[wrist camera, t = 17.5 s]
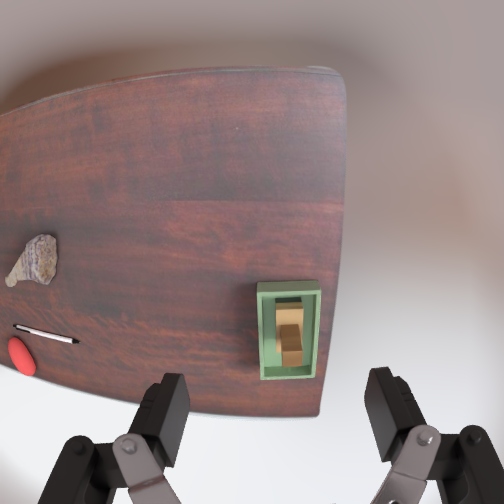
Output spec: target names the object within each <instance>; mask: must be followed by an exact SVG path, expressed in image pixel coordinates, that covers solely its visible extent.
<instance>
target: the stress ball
mask: <svg viewBox="0 0 504 504" xmlns="http://www.w3.org/2000/svg"><path fill="white" fill-rule="evenodd" d="M8 349H9V354H10V357H11V359H12V361H13V363H14V364H15V366H16V367H17V369H18V370H19V371H20V372H21V373H22V374H24V375H27V376H31V375H33V374H34V373H35V370H36V367H35V363H34V360H33V358H32V357H31V355H30V353H29V351H28V350H27V348H26V346H25V345H24V344H23V342H22V341H21V340H20V339H18V338H15V337H13V338H11V339H10V340H9V343H8Z"/></svg>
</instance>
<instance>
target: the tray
mask: <svg viewBox="0 0 504 504" xmlns="http://www.w3.org/2000/svg"><path fill="white" fill-rule="evenodd" d="M287 297H301V300H302V305H303V335H302V349H303V358H302V366H295V367H282V356H281V353H276V326H275V298H287ZM320 303H321V288H320V286H319V283H318V281H317V280H310V281H280V282H257V311H258V334H259V357H260V379H261V380H269V379H298V378H314V377H315V370H316V359H317V347H318V334H319V320H320Z"/></svg>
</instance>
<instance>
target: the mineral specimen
mask: <svg viewBox="0 0 504 504" xmlns="http://www.w3.org/2000/svg"><path fill="white" fill-rule="evenodd" d="M56 248H57V247H56V239H55V238H54V237H52V236H50V235H49V234H48V235H42V234H40V235H38V236H36V237H34V239H32V240H31V241H29V242H28V243H27V244H26V248H25V250H24V251H23V253H22V255H21V256H20V258H19V259H18V261H17V263H16V264H15V266H14V268H13V270H12V271H11V273H10V274H9V275H8V276H6V277H5V281H6V284H7V286H9V287H12V286H15V284H16V283H17V281H18V280H30V279H31V280H34V281H36V282H38V283H41V284H49V283H50V281H51V279H52V277H53V276H54V275H55V273H56V262H57V258H58V257H57V254H56Z"/></svg>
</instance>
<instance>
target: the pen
mask: <svg viewBox="0 0 504 504" xmlns="http://www.w3.org/2000/svg"><path fill="white" fill-rule="evenodd" d="M13 327H16V329H17V330H21V331H24V332H28V333H33V334H37V335H41V336H45V337H48V338H52V339H56V340H60V341H65V342H69V343H80V342H79V341H77V340H75V339H72V338H67V337H63V336H59V335H54V334H50V333H46V332H42V331H39V330H35V329H31V328H27V327H24V326H20V325H13Z"/></svg>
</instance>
